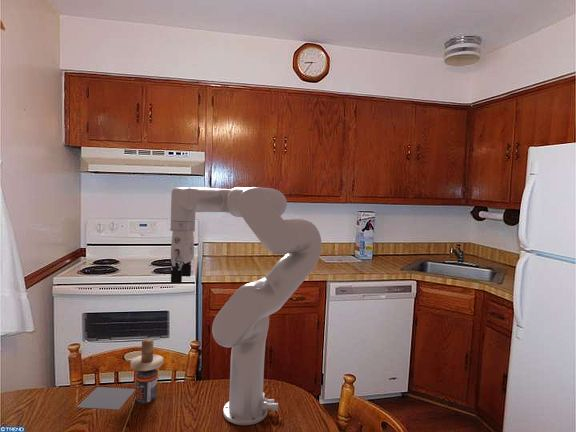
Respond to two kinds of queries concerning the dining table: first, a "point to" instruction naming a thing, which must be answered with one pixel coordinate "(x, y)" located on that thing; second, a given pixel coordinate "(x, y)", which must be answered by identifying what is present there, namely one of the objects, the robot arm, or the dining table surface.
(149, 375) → the supplement bottle
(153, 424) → the dining table surface
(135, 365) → the lid
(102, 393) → the mat
